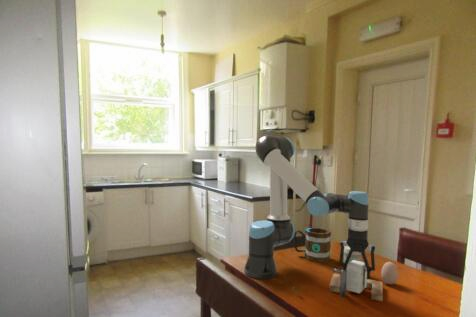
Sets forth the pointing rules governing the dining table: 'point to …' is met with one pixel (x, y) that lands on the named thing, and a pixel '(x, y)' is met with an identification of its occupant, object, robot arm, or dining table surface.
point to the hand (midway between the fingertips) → (356, 284)
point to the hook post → (342, 281)
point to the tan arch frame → (371, 284)
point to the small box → (356, 276)
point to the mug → (316, 244)
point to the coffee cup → (354, 255)
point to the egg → (389, 273)
